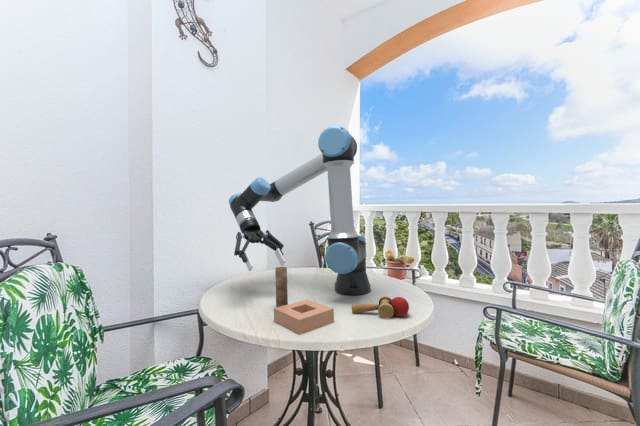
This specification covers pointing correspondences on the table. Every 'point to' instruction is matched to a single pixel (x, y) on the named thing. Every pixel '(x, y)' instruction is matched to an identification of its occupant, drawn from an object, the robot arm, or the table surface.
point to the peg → (281, 286)
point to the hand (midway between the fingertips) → (267, 266)
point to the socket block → (303, 316)
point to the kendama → (384, 307)
